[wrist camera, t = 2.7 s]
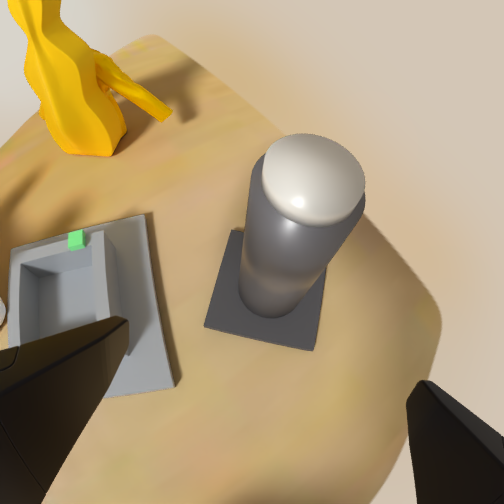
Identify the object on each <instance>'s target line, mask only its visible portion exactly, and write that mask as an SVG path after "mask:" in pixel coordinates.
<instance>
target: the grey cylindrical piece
mask: <svg viewBox="0 0 504 504" xmlns="http://www.w3.org/2000/svg"><path fill="white" fill-rule="evenodd" d="M364 189H365V176H364V172H363V170H362V168H361V166H360V164H359V162H358V161H357V160H356V158H355V157H354V156H353V155H352V154H351V153H350V152H349V151H348V150H347V149H345V148H344V147H343V146H341V145H339V144H338V143H336V142H334V141H332V140H330V139H327V138H325V137H322V136H318V135H313V134H293V135H289V136H285V137H283V138H280V139H279V140H277V141H276V142H274V143H273V144H272V145H271V146H270V147H269V149H268V150H267V152H266V153H265V154H264V155H263V156H261V157H260V159H259V160H258V161H257V162H256V164H255V166H254V168H253V171H252V175H251V181H250V189H249V198H248V206H247V214H246V222H245V231H244V239H243V247H242V256H241V264H240V273H239V282H238V292H239V296H240V298H241V300H242V302H243V304H244V305H245V306H246V308H247V309H248V310H250V311H251V312H252V313H254V314H256V315H258V316H260V317H264V318H279V317H283V316H285V315H287V314H289V313H290V312H292V311H293V310H294V309H295V308H296V306H297V305H298V304H299V302H300V301H301V300H302V298H303V297H304V296H305V294H306V293H307V292H308V290H309V289H310V288H311V286H312V285H313V284H314V282H315V281H316V280H317V278H318V277H319V276H320V274H321V273H322V272H323V270H324V269H325V267H326V266H327V265H328V263H329V262H330V261H331V259H332V258H333V256H334V255H335V254H336V252H337V251H338V249H339V248H340V247H341V245H342V244H343V242H344V241H345V239H346V238H347V237H348V235H349V234H350V232H351V231H352V229H353V228H354V226H355V225H356V224H357V222H358V221H359V219H360V218H361V216H362V214H363V211H364V208H365V192H364Z"/></svg>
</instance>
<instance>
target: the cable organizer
mask: <svg viewBox="0 0 504 504" xmlns="http://www.w3.org/2000/svg"><path fill="white" fill-rule="evenodd" d="M5 314H6V308H5V305H4V303H3V301H2V299H1V298H0V325H1V324H2V322H3V320H4V317H5Z"/></svg>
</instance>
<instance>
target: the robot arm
mask: <svg viewBox="0 0 504 504" xmlns="http://www.w3.org/2000/svg"><path fill="white" fill-rule="evenodd" d="M128 346H129V321H128V319H126V318H123V317H120V316H117V315H115V316H112V317H108V318H105V319H102V320H99V321H96V322H93V323H89V324H86V325H83V326H80V327H77V328H74V329H70V330H67V331H64V332H61V333H57V334H54V335H51V336H48V337H44V338H41V339H38V340H35V341H31V342H28V343H25V344H21V345H20V346H14V347H11V348H8V349H4V350H0V504H41V503H42V501H43V499H44V497H45V496H46V493H47V491H48V490H49V488H50V486H51V484H52V482H53V481H54V479H55V477H56V475H57V474H58V472H59V470H60V468H61V467H62V465H63V463H64V461H65V460H66V458H67V456H68V455H69V453H70V451H71V449H72V448H73V446H74V444H75V443H76V441H77V439H78V438H79V436H80V434H81V433H82V431H83V429H84V428H85V426H86V424H87V423H88V421H89V419H90V418H91V416H92V415H93V413H94V411H95V410H96V408H97V406H98V405H99V403H100V402H101V400H102V398H103V397H104V395H105V394H106V392H107V390H108V389H109V387H110V385H111V383H112V381H113V378H114V376H115V374H116V372H117V370H118V368H119V366H120V364H121V362H122V360H123V357H124V355H125V353H126V351H127V349H128ZM406 410H407V422H408V435H409V446H410V453H411V459H412V466H413V473H414V480H415V488H416V497H417V504H504V437H503V436H501V434H499V433H498V432H496V431H495V430H494V429H493V428H492V427H490V426H489V425H488V424H486V423H485V422H484V421H483V420H481V419H480V418H479V417H477V416H476V415H475V414H473V413H472V412H471V411H470V410H468V409H467V408H466V407H464V406H463V405H462V404H460V403H459V402H458V401H457V400H455V399H454V398H453V397H452V396H450V395H449V394H448V393H446V392H445V391H444V390H442V389H441V388H440V387H438V386H437V385H436V384H435V383H433V382H432V381H427V380H421V381H419V382H418V383H417V385H416V386H415V388H414V389H413V391H412V392H411V394H410V396H409V397H408V399H407V402H406Z"/></svg>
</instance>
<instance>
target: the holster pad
mask: <svg viewBox="0 0 504 504" xmlns="http://www.w3.org/2000/svg"><path fill="white" fill-rule="evenodd" d="M243 239H244V232H240V231H235V230H231V233H230V236H229V239H228V243H227V246H226V249H225V253H224V256H223V260H222V263H221V266H220V270H219V273H218V277H217V280H216V284H215V287H214V291H213V294H212V298H211V301H210V305H209V308H208V312H207V315H206V319H205V323H204V327H206V328H210V329H214V330H218V331H221V332H225V333H230V334H234V335H238V336H242V337H246V338H250V339H255V340H259V341H264V342H268V343H273V344H277V345H282V346H287V347H292V348H297V349H302V350H307V351H313V350H314V345H315V340H316V334H317V327H318V321H319V315H320V308H321V301H322V294H323V287H324V280H325V272H326V267H325V269H324V270H323V272H322V273H321V274H320V276H319V277H318V278H317V280H316V281H315V282H314V284H313V285H312V286H311V288H310V289H309V290H308V292H307V293H306V294H305V296H304V297H303V298H302V300H301V301H300V302H299V304H298V305H297V306H296V308H295V309H294V310H293V311H292V312H290V313H289V314H287V315H285V316H283V317H279V318H264V317H260V316H258V315H256V314H254V313H252V312H251V311H250V310H248V309H247V308H246V306H245V305H244V304H243V302H242V300H241V298H240V296H239V292H238V282H239V273H240V264H241V256H242V247H243Z"/></svg>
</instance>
